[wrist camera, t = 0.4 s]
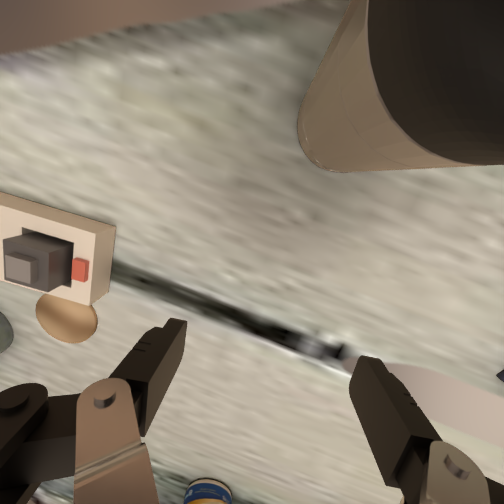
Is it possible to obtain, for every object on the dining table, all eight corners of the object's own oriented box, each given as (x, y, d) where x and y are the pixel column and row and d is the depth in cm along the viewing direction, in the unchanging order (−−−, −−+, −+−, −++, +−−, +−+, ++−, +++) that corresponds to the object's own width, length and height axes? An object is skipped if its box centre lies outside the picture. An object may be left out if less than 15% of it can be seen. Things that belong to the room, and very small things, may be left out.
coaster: (40, 282, 31) (35, 283, 30) (99, 299, 31) (96, 301, 31) (39, 331, 33) (35, 333, 33) (94, 346, 34) (91, 349, 33)
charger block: (55, 226, 28) (-7, 241, 22) (92, 237, 29) (41, 255, 22) (54, 260, 30) (-5, 283, 23) (89, 270, 30) (40, 296, 24)
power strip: (-54, 175, 27) (-107, 175, 23) (115, 226, 28) (91, 235, 24) (-46, 246, 30) (-92, 257, 26) (108, 291, 31) (85, 308, 27)
